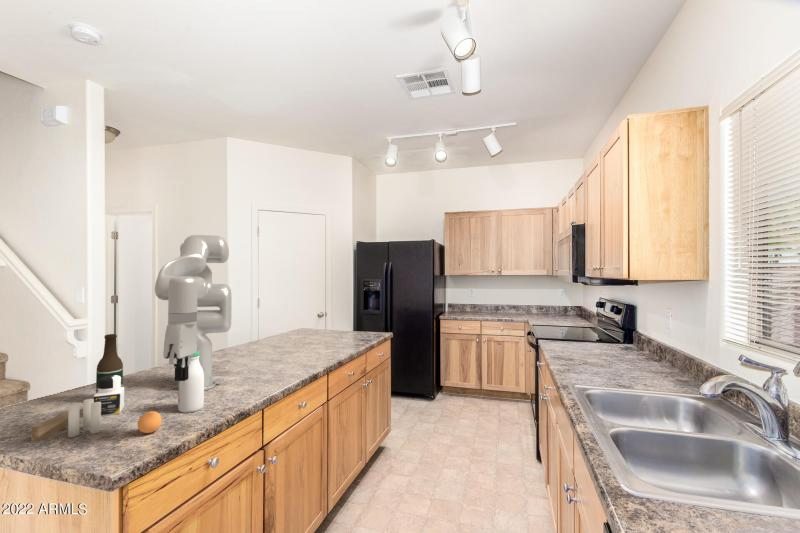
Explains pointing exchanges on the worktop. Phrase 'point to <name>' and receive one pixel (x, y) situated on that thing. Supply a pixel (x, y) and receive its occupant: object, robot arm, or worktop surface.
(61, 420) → the bar
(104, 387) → the medicine bottle
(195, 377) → the milk bottle
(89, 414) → the pin
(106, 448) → the worktop surface
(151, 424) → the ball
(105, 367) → the beer bottle
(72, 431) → the pin
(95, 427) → the pin front
